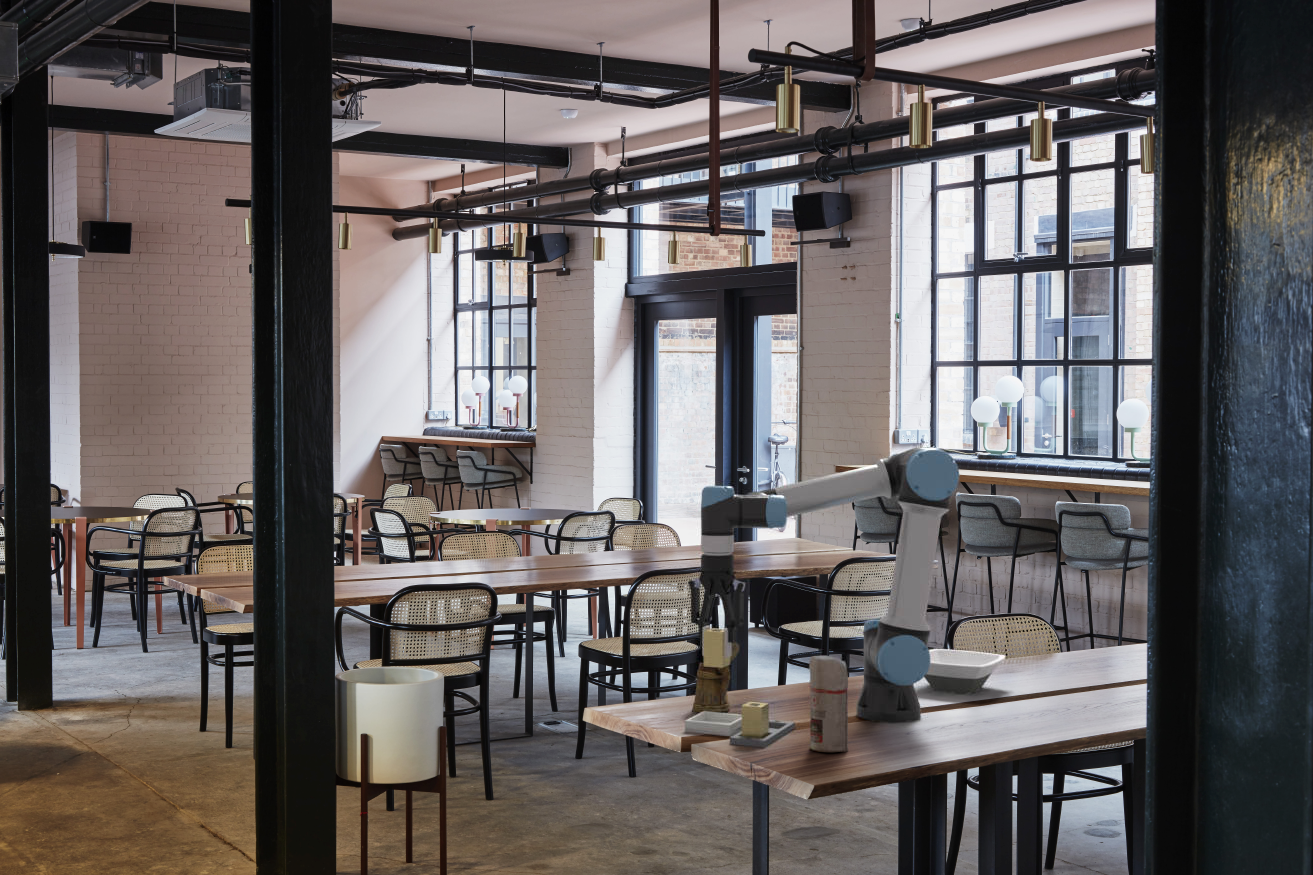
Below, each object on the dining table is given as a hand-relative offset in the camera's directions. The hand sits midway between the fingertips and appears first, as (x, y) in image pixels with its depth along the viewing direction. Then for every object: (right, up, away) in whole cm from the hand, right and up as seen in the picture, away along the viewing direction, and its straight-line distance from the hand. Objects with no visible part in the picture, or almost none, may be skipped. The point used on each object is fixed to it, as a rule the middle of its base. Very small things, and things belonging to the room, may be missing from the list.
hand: (716, 655), depth 291 cm
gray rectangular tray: (+10, -17, -7) cm, 21 cm away
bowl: (+66, -17, +47) cm, 82 cm away
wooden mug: (+1, -17, +18) cm, 25 cm away
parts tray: (0, -17, 0) cm, 17 cm away
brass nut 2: (+8, -17, -11) cm, 22 cm away
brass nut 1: (0, -2, 0) cm, 2 cm away
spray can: (+23, -17, -19) cm, 35 cm away
